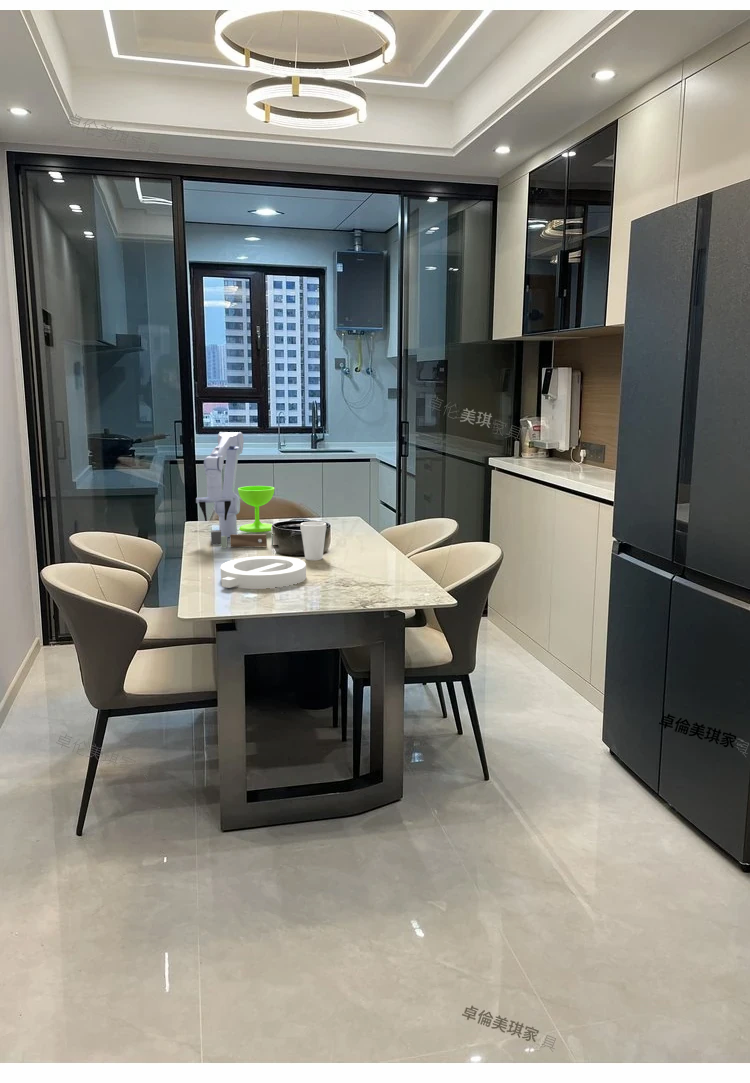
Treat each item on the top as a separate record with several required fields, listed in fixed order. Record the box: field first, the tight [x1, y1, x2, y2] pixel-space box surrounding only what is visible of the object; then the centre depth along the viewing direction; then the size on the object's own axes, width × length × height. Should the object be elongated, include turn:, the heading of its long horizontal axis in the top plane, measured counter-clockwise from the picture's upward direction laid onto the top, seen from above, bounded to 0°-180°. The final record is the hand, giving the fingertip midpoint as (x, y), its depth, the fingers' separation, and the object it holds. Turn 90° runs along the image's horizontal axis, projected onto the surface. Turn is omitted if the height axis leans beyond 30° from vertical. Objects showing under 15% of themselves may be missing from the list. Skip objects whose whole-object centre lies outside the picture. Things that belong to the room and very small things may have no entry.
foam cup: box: [300, 521, 327, 561], centre depth 292 cm, size 10×9×13 cm
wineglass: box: [237, 485, 275, 533], centre depth 349 cm, size 16×16×18 cm
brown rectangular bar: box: [229, 533, 268, 548], centre depth 311 cm, size 3×14×5 cm, turn 94°
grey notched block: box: [210, 529, 221, 545], centre depth 321 cm, size 8×4×5 cm, turn 11°
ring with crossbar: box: [220, 555, 307, 590], centre depth 264 cm, size 28×28×5 cm
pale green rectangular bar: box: [220, 533, 274, 549], centre depth 313 cm, size 2×22×4 cm, turn 102°
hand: (215, 520), depth 318 cm, fingers open, 7 cm apart
